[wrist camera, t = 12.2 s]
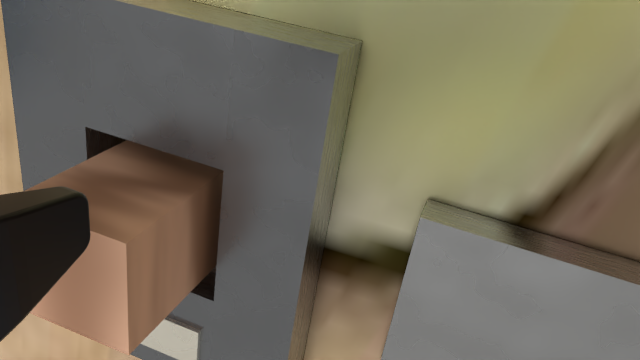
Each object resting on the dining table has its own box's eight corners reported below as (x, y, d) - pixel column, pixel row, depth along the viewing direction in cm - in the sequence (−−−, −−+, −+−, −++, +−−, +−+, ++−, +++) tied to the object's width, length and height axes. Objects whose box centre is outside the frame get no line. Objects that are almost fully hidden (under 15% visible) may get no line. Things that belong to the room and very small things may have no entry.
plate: (362, 40, 18) (336, 55, 16) (299, 377, 25) (276, 421, 23) (51, -32, 21) (-8, -29, 19) (75, 286, 29) (34, 317, 26)
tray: (666, 270, 18) (677, 297, 16) (577, 432, 21) (579, 464, 20) (427, 198, 20) (420, 217, 18) (383, 358, 23) (374, 383, 22)
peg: (238, 159, 22) (126, 243, 16) (230, 250, 24) (128, 355, 18) (144, 131, 23) (6, 199, 17) (145, 220, 25) (21, 309, 19)
